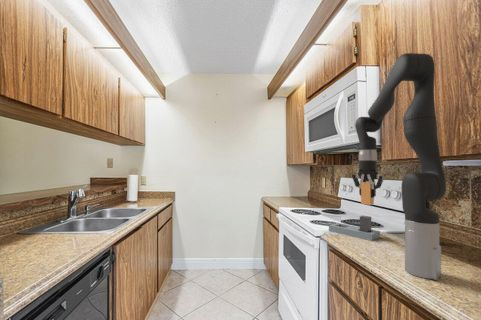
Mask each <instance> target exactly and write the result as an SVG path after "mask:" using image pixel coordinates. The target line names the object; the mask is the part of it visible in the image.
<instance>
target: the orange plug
mask: <svg viewBox="0 0 481 320" xmlns="http://www.w3.org/2000/svg"><path fill="white" fill-rule="evenodd" d="M360 204H361V205H367V206H368V205H369V206H371V205H374V204H375V197H374V198H371V183H369V182H361V195H360Z"/></svg>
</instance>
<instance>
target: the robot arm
mask: <svg viewBox="0 0 481 320" xmlns="http://www.w3.org/2000/svg"><path fill="white" fill-rule="evenodd" d="M402 82H413V84H414V95H413V99H412V100H411V102H410V104H409V105H408V107H407V108H406V110H405V113H404V115H403V116H402V117H403V119H402V122H403V134H404V138H405V140H406V141H407V143H408V145H409V146H410V148H411V149H412V150H413V152H414V154H416V156H417V157H418V160H419V164H420V171H421V172H408V173H406V174H405V175H404V176H403V178H402V180H401V199H402V200H401V201H402V204H401V205H402V211H403V213H404V222H405V224H404V270H405V272H407V273H408V274H410V275H413V276H414V277H415V276H416V277H419V278H423V279H429V280H435V281H437V280H438V279H439V278H440V277H441V276H442V246H441V245H440V215H439V214H438V213H437V212H435V211H433V210H430V209H429V208H428V207H427V203H426V202H427V201H439V200H441V199H442V198H443V197H444V196H445V194H446V192H447V191H446V190H447V182H446V178H445V172H444V168H443V163H442V160H441V153H440V147H439V146H440V145H439V139H438V137H439V136H438V124H437V114H436V107H435V106H436V105H435V61H434V58H433V56H432V55H430V54H428V53H416V52H415V53H413V52H412V53H411V52H409V53H403V54H401V55H400V56H399V57H397V59H396V60H395V62H394V63H393V65H392V67H391V69H390V71H389V73H388V76H387V77H386V80H385V81H384V83H383V86H382V88H381V90H380V92H379V93H378V96H377V97H376V99H375V100H374V102H373V103H371V106H370V108H369V109H368V110H367V115H368V116H360V117H358V118H357V119H356V120H355V124H354V127H355V131H356V134H357V138H358V141H359V143H358V144H359V147H358V148H359V149H358V150H359V151H358V172H357V173H355V174H352V175H351V177H352V181H353V183H354V186H355V187H356V188H358V189H359V196H361V182H369V183H371V198H374V199H375V197H376V196H377V192H376V191H377V189H380V188H381V187H382V184H383V182H384V179H385V176H384V175H381V174H379V173H378V154H377V153H378V152H377V138H376V137H374V136H373V137H372V136H370V135H369V134H368V133H376V132H378V131H379V130H380V129H381V127H382V125H383V121H384V119H385V117H386V116H387V114H388V113H389V112H390V111H391V109H392V108H393V106H394V105H395V104H394V103H395V98H396V97H395V96H396V94H395V92H396V89H397V87H398V85H400V83H402ZM376 178H377V181H376ZM359 179H360V181H359Z"/></svg>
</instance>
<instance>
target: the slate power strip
mask: <svg viewBox="0 0 481 320" xmlns="http://www.w3.org/2000/svg"><path fill="white" fill-rule="evenodd" d="M328 231H329V232H332V233H336V234H340V235H345V236H348V237H353V238H358V239H362V240H367V241H370V242H373V241H375V240H377V239H380V238H381V231H380V230H376V229H372V216H370V215H369V216H367V215H360V216H359V226H357V225H350V224H346V223H341V222H337V223H333V224H329V225H328Z"/></svg>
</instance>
